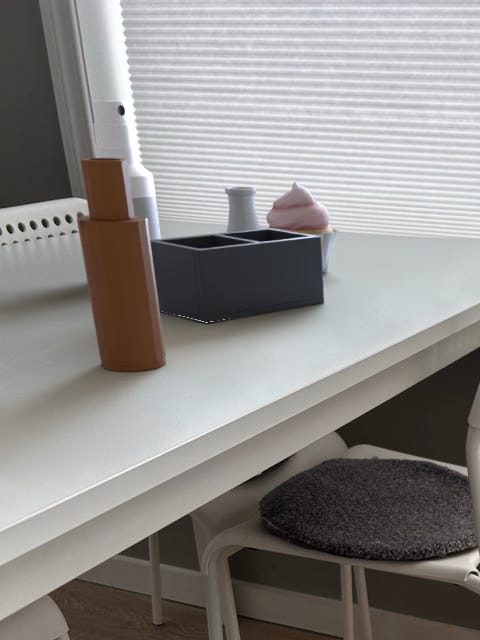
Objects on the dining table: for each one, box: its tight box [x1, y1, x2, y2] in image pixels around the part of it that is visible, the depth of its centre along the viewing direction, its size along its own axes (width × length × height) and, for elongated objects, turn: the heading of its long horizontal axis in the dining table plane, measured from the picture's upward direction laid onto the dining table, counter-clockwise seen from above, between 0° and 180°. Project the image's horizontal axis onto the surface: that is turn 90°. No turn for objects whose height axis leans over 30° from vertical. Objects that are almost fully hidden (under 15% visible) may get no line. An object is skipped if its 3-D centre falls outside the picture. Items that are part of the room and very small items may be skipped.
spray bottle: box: [91, 99, 162, 240], centre depth 104 cm, size 7×7×18 cm
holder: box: [150, 227, 325, 325], centre depth 97 cm, size 8×15×7 cm, turn 141°
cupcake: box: [262, 181, 340, 273], centre depth 115 cm, size 9×9×10 cm
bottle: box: [76, 157, 167, 372], centre depth 74 cm, size 5×5×15 cm
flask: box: [224, 186, 261, 232], centre depth 107 cm, size 7×7×10 cm
